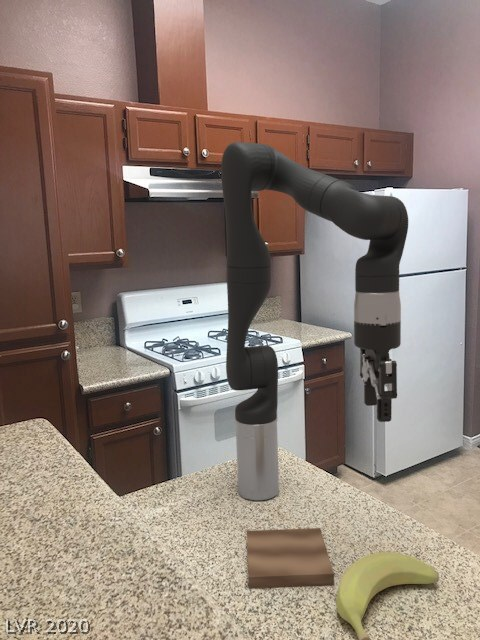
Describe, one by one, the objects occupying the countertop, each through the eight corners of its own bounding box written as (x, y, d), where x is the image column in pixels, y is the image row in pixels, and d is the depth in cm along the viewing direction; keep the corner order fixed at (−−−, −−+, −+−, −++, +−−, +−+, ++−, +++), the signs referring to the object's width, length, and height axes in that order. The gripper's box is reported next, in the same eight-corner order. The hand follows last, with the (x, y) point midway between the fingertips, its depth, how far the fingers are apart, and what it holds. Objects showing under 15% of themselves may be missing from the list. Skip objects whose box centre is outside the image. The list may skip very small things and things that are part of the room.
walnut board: (247, 540, 100) (246, 530, 100) (320, 537, 100) (320, 528, 100) (248, 588, 86) (248, 577, 86) (334, 585, 86) (333, 573, 86)
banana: (355, 553, 92) (320, 640, 75) (361, 527, 91) (326, 610, 73) (435, 586, 87) (417, 688, 70) (443, 559, 85) (427, 657, 68)
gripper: (345, 313, 94) (346, 401, 97) (364, 325, 80) (365, 428, 82) (387, 312, 94) (387, 399, 97) (414, 324, 80) (413, 426, 82)
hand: (377, 412), depth 90 cm, fingers open, 8 cm apart
